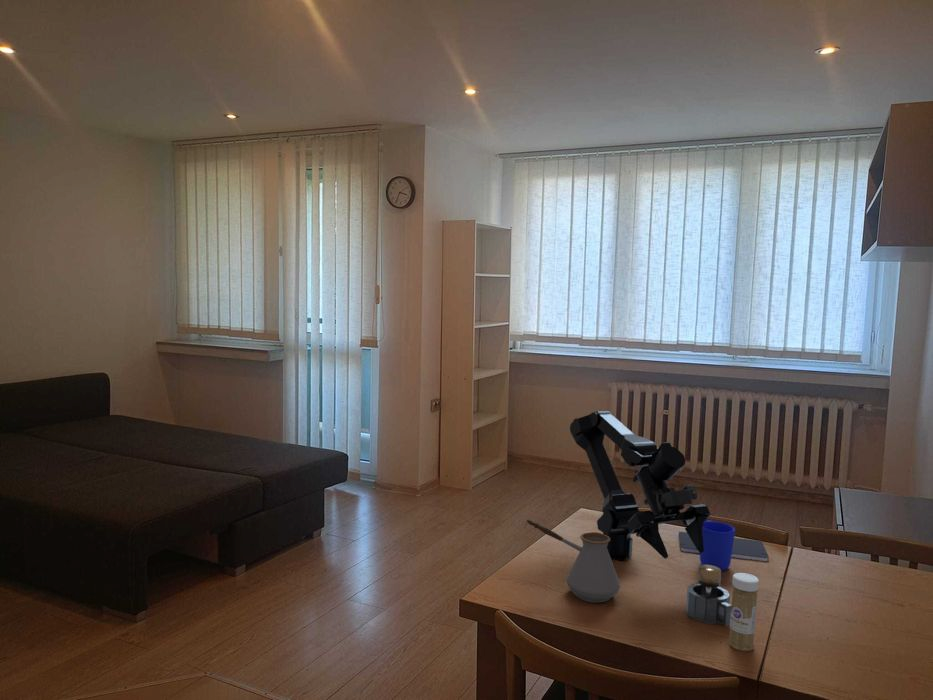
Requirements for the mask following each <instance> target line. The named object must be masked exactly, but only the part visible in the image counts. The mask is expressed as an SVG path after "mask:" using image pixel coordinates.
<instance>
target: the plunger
mask: <svg viewBox="0 0 933 700" xmlns="http://www.w3.org/2000/svg"><path fill="white" fill-rule="evenodd" d="M721 580H722V570H721V569H720V568H718V567H716V566H712V565H702V564H700V565H699V566H698V572H697V583H699V584H700V585H702V586H705V587H706V597H711V588H716V587H721V582H722V581H721Z"/></svg>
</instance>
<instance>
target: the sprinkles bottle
mask: <svg viewBox="0 0 933 700" xmlns="http://www.w3.org/2000/svg"><path fill="white" fill-rule="evenodd" d="M731 584H732V597H731V600H732V601H731V605H732V609H731V617H730V625H729V639H728V645H729V646H730V647H732V648H733V649H735V650H737V651H742V652H751V651H753V650H754V648H755V644H754V643H755V633H756V621H757V620H756V618H757V605H758V603H757V600H758V591H759V588H760V587H759V586H760V580H759V578H758V577H757V576H755V575H753V574H751V573H747V572H736V573H734V574H733V575H732V583H731Z"/></svg>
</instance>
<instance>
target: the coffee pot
mask: <svg viewBox="0 0 933 700" xmlns="http://www.w3.org/2000/svg"><path fill="white" fill-rule="evenodd" d="M528 524H529V525H530V526H533V527H534V529H538V530H539V531H540V532H542V533H543V534H545V535H547V536H550V537H551V538H554V539H555V540H558V541H560V542H563V543H564V544H566V545H568V546H569V547H571V548H572V549H575V550H576V551H578V555H577V557H576V559H575V561H574V563H573V564H572V567H571V568H570V570H569V573H568V575H567V577H566V584H567V587H568V588H569V589H570V591H571V592H572V593H573V594H574V595H575V597H577V598H578V599H580V600H582V601H584V602H589V603H604V602H609V600H610V599H611V598H613V597H614V596H616V595H617V593H619V590H620V588H621V582H620V580H619V577H618V575H617V571H616V567H614V563H613V560H612V558H610V555H609V552H608V549H607V545H608V543H609V542H610V537H609V536H607V535H604V534H603V533H601V532H597V531H594V532H585V533H582V534H580V540H581V541H582V547H581V546H580V545H578V544H577V543H576V544H575V543H573V542H572V541H569V540H567V539H566V538H564V537H563V536H561V535H559V534H558V533H556V532H554V531H553V530H551V529H549V528H547V527H544V526H542V525H540V523H537V522H536V523H535V522H534V521H532V520H529V519H527V521H526V523H525V525H524V527H523V528H524V529H526V527H527V525H528Z"/></svg>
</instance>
